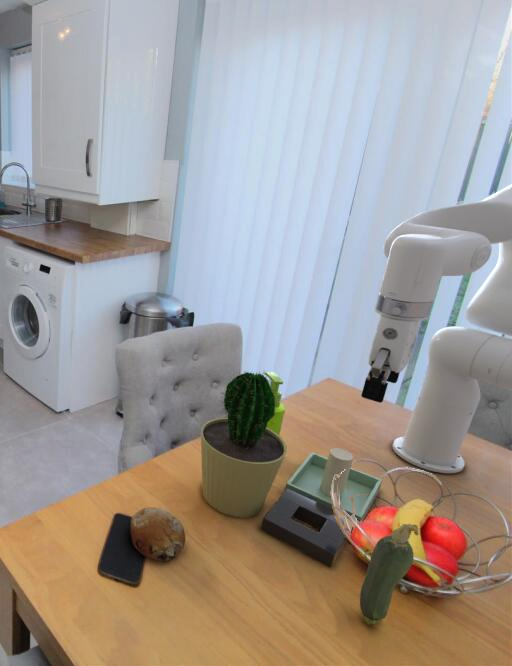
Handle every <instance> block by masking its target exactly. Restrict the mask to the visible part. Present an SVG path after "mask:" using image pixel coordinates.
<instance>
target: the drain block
mask: <svg viewBox="0 0 512 666" xmlns="http://www.w3.org/2000/svg"><path fill="white" fill-rule="evenodd" d="M284 491H285V490H284ZM296 519H299V520H301V521H303V522H305V523H307V524H309V525H311V526H313V527H315V528H317V529H319V531H317V530H314V529H312V528H311V527H308V526H306V525H304V524H302V523H301V522H298V521H296ZM340 520H341V522H342V524H343V525H344V519H343V516H340ZM260 530H261V531H262V532H264V533H265V534H268V535H270V536H271V537H274V538H275V539H277V540H279V541H281V542H283V543H285V544H286V545H288V546H290V547H292V548H294V549H296V550H298V551H300V552H301V553H303V554H305V555H307V556H309V557H311V558H313V559H314V560H316V561H318V562H320V563H322V564H324V565H326V566H328V567H329V568H332V566H333V565H334V563H335V562H336V559H337V558H338V556H339V554H340V552H341V550H342V549H343V547H344V545H345V544H346V542H347V540H348V538H347V539H346V537H345V535H344V534H343V532H342V530H341V529H340V527H339V525H338V524H337V522H336V519H335V517H334V514H333V509H331V508H328V507H326V506H324V505H322V504H320V503H318V502H315V501H313V500H311V499H309V498H307V497H304V496H302V495H300V494H298V493H296V492H294V491H291V490H289V489H286V491H285V492H283V493H282V494H281V495H280V496H279V498H278V499H277V501H276V502H275V503H274V504H273V505H272V507H271V508H270V509H269V510H268V512H267V513H266V514H265V516H264V517H263V519H262V523H261V527H260Z"/></svg>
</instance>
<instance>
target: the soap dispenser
mask: <svg viewBox="0 0 512 666" xmlns="http://www.w3.org/2000/svg"><path fill="white" fill-rule="evenodd" d="M263 372H264V373H265V374H266V375H265V376H267V378H268V380H270V382H271V383H270V384H271V386H270V387H271V389H272V392H276V394H275V393H273V394H275V395H274V396H276V397H275V399H276V400H275V403H277V404H275V412H274V413H275V414H276V415H274V417H272V418H271V419H270V421H271V422H270V421H268V423H267V424H268V425H269V427H268V426H267V428H269V429H271V430H272V431H274V432H275V433H277V434H278V435H279V436H280V435H281V430H282V426H283V421H284V416H285V412H286V406H285V405H284V404H283V403H281V400H282V395H283V393H282V391H280V390H279V389H280V385H283V384H284V381H283V380H282V378H281V377H280V376H279V375H278V374H277V373H275V372H273V371H263ZM264 373H263V374H264ZM272 382H273V384H272ZM274 382H275V383H274ZM274 389H277V390H274ZM277 395H278V396H277ZM279 403H281V404H279ZM276 407H277V408H276ZM276 412H277V413H276ZM272 421H273V422H274V423H273V422H272Z"/></svg>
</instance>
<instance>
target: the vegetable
mask: <svg viewBox="0 0 512 666" xmlns="http://www.w3.org/2000/svg"><path fill="white" fill-rule="evenodd" d="M420 530H421V529H419V527H418V525H417V524H411V523H402V524H401V525H400V526H399V527H398V528H395V529H393V530H392V531H391V532H390V534H388V535H385V536H383V537H381V538H380V539H379V540H378V541H377V543H376V544H375V545H374V548H373V549H372V553H371V556H370V561H369V563H368V565H367V569H366V573H365V576H364V580H363V582H362V586H361V589H360V593H359V594H360V595H359V606H360V607H359V609H360V611H361V613H362V615H363V616H364V619H365V621H366V623H367V624H368V625H371V626H374V625H376V624H378V623H381V622H382V621H383V619H385V618H386V617H387V615H388V611H389V607H390V604H391V601H392V597H393V593H394V592H395V591H394V590H395V588H396V587H397V585H398V583H399V582H400V581H401V580H402V579H403V578H404V577H405V576H406V574H407V573H408V572H409V570H410V568H411V567H412V565H413V563H414V558H415V557H414V550H413V547H412V545H411V543H409V539H410V538H411V535H412V532H413V534H414V535H415V536H419V534H420V532H419V531H420Z"/></svg>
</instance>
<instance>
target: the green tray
mask: <svg viewBox="0 0 512 666" xmlns="http://www.w3.org/2000/svg"><path fill="white" fill-rule="evenodd" d="M327 459H328V457H326V456H324V455H320V454H318V453H316V452H313V451H311V452H310V453H309V455H307V457H306V459H304V461H303V462H302V463H301V464H300V466H299V467H298V468H297V470H295V472H294V473H293V474H292V475H291V477H290V478H289V479H288V481H287V482H286V483H285V487H284V492H285V491H286V489H289V490H291V491H294V492H296V493H298V494H300V495H302V496H304V497H307V498H309V499H311V500H313V501H315V502H318V503H320V504H322V505H324V506H326V507H328V508H331V509H332V502H331V497H330V496H327V495H325V494H324V493H323V492H322V491H321V490H320V485H321V482H322V478H323V474H324V470H325V467H326V463H327ZM382 483H383V479H381V478H379V477H376V476H374V475H372V474H369V473H366V472H363V471H361V470H359V469H356V468H354V467H351V468H350V472H349V475H348V478H347V482H346V484H347V486H348V489H349V490H348V489H347V487H346V485H345V488H344V492H343V495H342V497H340V502H341V507H342V508H343V509H344V510H345V511H346V512H347V513H348V514H349V515H350V516H351V515H352V514H353V511H352V503H351V499H350V496H353V497H354V496H355V495H357V494H361V495H358V496H355V497H354V507H355V517H356V518H357V520H358V521H359V522H360V521H361V520H363V521H364V519H365V517H366V515H368V512H369V510H370V508H371V506H372V505H373V503H374V501H375V499H376V497H377V496H378V494H379V492H380V489H381V486H382ZM284 492H283V493H284ZM362 494H368V495H362ZM369 495H370V496H369ZM373 496H376V497H375V498H374V497H373Z"/></svg>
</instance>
